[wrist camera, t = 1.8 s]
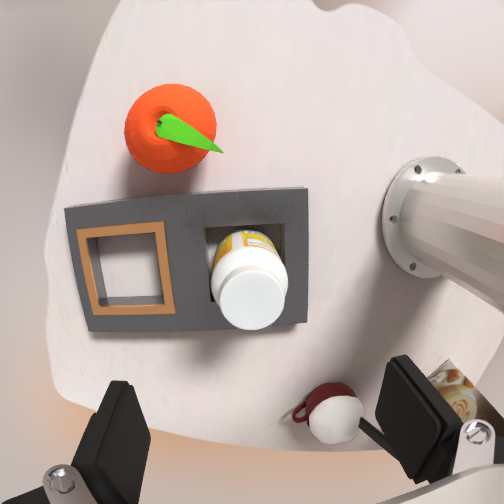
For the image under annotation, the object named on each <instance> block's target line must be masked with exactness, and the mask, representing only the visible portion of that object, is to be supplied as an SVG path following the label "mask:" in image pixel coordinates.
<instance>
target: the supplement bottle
mask: <svg viewBox="0 0 504 504" xmlns="http://www.w3.org/2000/svg"><path fill="white" fill-rule="evenodd" d="M211 288H212V293H213V296H214V299H215V301H216V302H217V304H218V305H219V307H220V308H221V311H222V313H223V315H224V317H225V318H226V319H227V320H228V321H229V322H230V323H231V324H232V325H234V326H236V327H238V328H240V329H244V330H258V329H262V328H265V327H267V326H269V325H271V324H272V323H273V322H274V321H275V320H276V319H277V318H278V317H279V316H280V314H281V312H282V310H283V307H284V302H285V296H286V293H287V289H288V276H287V272H286V269H285V267H284V265H283V263H282V261H281V259H280V257H279V255H278V253H277V251H276V249H275V247H274V245H273V243H272V242H271V240H270V239H269V238H268V237H267V236H266V235H265V234H263V233H261V232H260V231H257V230H254V229H247V228H245V229H238V230H235V231H233V232H231V233H229V234H228V235H227V236H225V238H224V239H223V240H222V241H221V243H220V244H219V246H218V248H217V252H216V256H215V262H214V267H213V273H212V279H211Z"/></svg>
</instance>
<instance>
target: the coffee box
mask: <svg viewBox="0 0 504 504" xmlns="http://www.w3.org/2000/svg"><path fill="white" fill-rule="evenodd" d="M427 379H428V380H429V381H430V382H431V383H432V385H433V386H434V387H435V388H436V389H437V390H438V392H439V393H440V394H441V395H442V396H443V398H444V399H445V400H446V401H447V402H448V404H449V405H450V406H451V407H452V408H453V410H454V411H455V412H456V413H457V415H458V416H459V417H460V418H461V421H462V422H463V423H464V424H465V423H466V422H468V421H469V420H473V419H480V420H483V421H486V422H488V423H489V424H490V425H491V426H492V427H493V429H494V431H495V436H497V437H503V438H504V418H503V417H502V416H501V415H500V414H499V413H498V412H497V410H496V409H495V408H494V407H493V406H492V405H491V404H490V403H489V402H488V401H487V399H486V398H485V397H484V396H483V395H482V394H481V393H480V392H479V391H478V389H477V388H476V387H475V386H474V385H473V384H472V383H471V382H470V381H469V380H468V379H467V377H466V376H465V375H464V374H463V373H462V372H461V371H460V370H459V369H458V368H457V367H456V366H455V365H454V364H453V362H452V361H451V360H450V359H449V360H447V361H446V362H445V363H444V364H443V365H442V366H441V367H439V368H438V369H437V370H436V371H435V372H434V373H433V374H431V375H430V376H429V377H428V378H427Z"/></svg>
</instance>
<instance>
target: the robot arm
mask: <svg viewBox="0 0 504 504" xmlns="http://www.w3.org/2000/svg"><path fill="white" fill-rule="evenodd" d="M414 169H415V171H414ZM390 217H391V219H390ZM389 219H390V221H389ZM382 231H383V237H384V241H385V245H386V247H387V249H388V252H389V254H390V256H391V257H392V258H393V260H394V261H395V263H396V264H397V265H398V266H400V267H401V268H402V269H403V270H404V271H406V272H407V273H409V274H411V275H414V276H416V277H419V278H433V277H437V276H440V275H443V276H445V277H446V278H448V279H450V280H451V281H453V282H455V283H456V284H458V285H459V286H461V287H463V288H464V289H466V290H468V291H469V292H471V293H472V294H474V295H476V296H477V297H479V298H480V299H482V300H483V301H485V302H487V303H488V304H490V305H491V306H493V307H494V308H496V309H497V310H499V311H500V312H502V313H503V314H504V179H497V178H490V177H483V176H475V175H467V174H466V173H465V171H464V170H463V169H462V168H461V167H460V166H459V165H458V164H457V163H455V162H454V161H452V160H450V159H448V158H445V157H441V156H424V157H420V158H417V159H415V160H413V161H411V162H410V163H408V164H407V165H406V166H404V167H403V168H402V169H401V170H400V172H399V173H398V174H397V175H396V176H395V178H394V180H393V181H392V183H391V185H390V187H389V189H388V192H387V194H386V197H385V201H384V205H383V212H382ZM375 417H376V420H377V422H378V423H379V425H380V427H381V429H382V431H383V432H384V434H385V436H386V438H387V440H388V442H389V443H390V445H391V447H392V449H393V451H394V453H395V454H396V456H397V458H398V460H399V462H400V464H401V465H402V467H403V469H404V471H405V473H406V475H407V476H408V478H409V479H413V481H414V482H415V484H418V483H421V482H423V481H425V480H428V482H429V483H430V484H429V485H427V486H425V487H422V488H419V489H417V490H414V491H411V492H409V493H406V494H403V495H400V496H398V497H395V498H392V499H389V500H386V501H383V502H380V503H376V504H504V438H503V437H497V436H495V431H494V429H493V427H492V426H491V425H490V424H489V423H488V422H486V421H483V420H480V419H473V420H469V421H468V422H466V423H465V424H464V423H463V422H462V421H461V418H460V417H459V416H458V415H457V413H456V412H455V411H454V410H453V408H452V407H451V406H450V405H449V404H448V402H447V401H446V400H445V399H444V398H443V396H442V395H441V394H440V393H439V392H438V390H437V389H436V388H435V387H434V386H433V385H432V383H431V382H430V381H429V380H428V379H427V378H426V376H425V375H424V374H423V373H422V372H421V371H420V369H419V368H418V367H417V366H416V365H415V364H414V363H413V361H412V360H411V359H410V358H409V357H408V356H407V355H401V356H397V357H393V358H391V360H390V362H388V363H387V365H386V370H385V374H384V379H383V383H382V387H381V391H380V395H379V399H378V403H377V407H376V411H375ZM150 441H151V437H150V432H149V430H148V427H147V424H146V422H145V419H144V416H143V413H142V410H141V408H140V405H139V402H138V399H137V396H136V393H135V390H134V387H133V386H132V385H129V383H128V382H127V381H114V380H113V381H111V382H110V384H109V387H108V389H107V391H106V393H105V395H104V398H103V400H102V402H101V404H100V407H99V409H98V411H97V413H94V414H93V415H92V416H91V418H90V421H89V423H88V425H87V427H86V430H85V432H84V434H83V436H82V439H81V441H80V444H79V446H78V449H77V451H76V453H75V456H74V458H73V461H72V463H71V466H69V465H63V464H61V465H56V466H53V467H52V468H50V469H49V470H48V471H46V473H45V475H44V476H43V486H41V487H39V488H37V489H34V490H32V491H29V492H27V493H24V494H22V495H19V496H17V497H14V498H11V499H9V500H7V501H5V502H3V503H2V504H138V502H139V497H140V491H141V485H142V481H143V475H144V470H145V466H146V460H147V456H148V451H149V446H150Z"/></svg>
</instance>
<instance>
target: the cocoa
mask: <svg viewBox="0 0 504 504" xmlns="http://www.w3.org/2000/svg"><path fill="white" fill-rule="evenodd" d="M304 407H306V414H305V415H304V416H303V417H301V418H297V417H296V414H297V413H298V412H299V411H300V410H301V409H303V408H304ZM292 418H293V420H294V421H295V422H297V423H301V422H304V421H305V420H307V424H308V426H309V427H310V430H311V432H312V433H313V435H314V436H315V437H316V438H317V439H319V440H320V441H321V442H322V443H325V444H331V445H333V444H337V443H341V442H348V441H351V440H352V439H353V438H354V437H355V436H356V435H357V433H358V430H359V428H360V429H361V430H362V431H364V432H365V433H366V434H367V435H368V436H369V437H371V438H372V439H373V440H374V441H375V442H376V443H378V444H379V445H380V446H381V447H382V448H384V449H385V450H386V451H387V452H388V453H390V454H391V455H392V456H393V457H394V458H396V459H397V460H398V458H397V456H396V454H395V453H394V451H393V449H392V447H391V445H390V443H389V442H388V440H387V438H386V436H385V435H384V434H382V433H381V432H380V431H379V430H377V429H376V428H375V427H374V426H373V425H371V424H370V423H369V422H368V421H367V420H365V419H364V418H365V413H364V407H363V405H362V404H361V402H360V401H359V399H358V398H357V396H356V395H355V393H354V392H353V391H352V390H351V389H350V388H349V387H348V386H346V385H343V384H341V383H326V384H324V385H321V386H319V387H317V388H316V389H315V390H314V391H312V393H311V394H310V396H309V397H308V399H307V401H305V402H303V403H302V404H301V405H299V406H298V407H297V408H296V409H295V410H294V412H293V414H292ZM398 461H399V460H398Z"/></svg>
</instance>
